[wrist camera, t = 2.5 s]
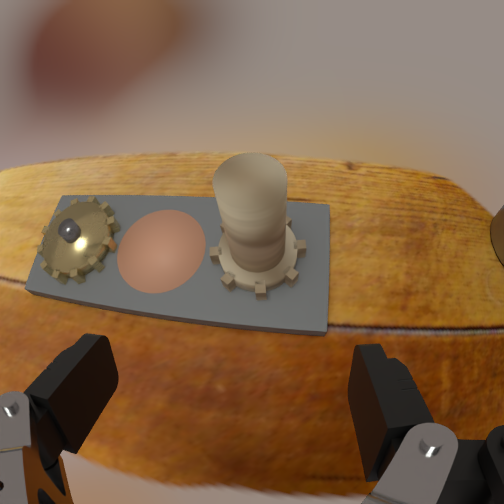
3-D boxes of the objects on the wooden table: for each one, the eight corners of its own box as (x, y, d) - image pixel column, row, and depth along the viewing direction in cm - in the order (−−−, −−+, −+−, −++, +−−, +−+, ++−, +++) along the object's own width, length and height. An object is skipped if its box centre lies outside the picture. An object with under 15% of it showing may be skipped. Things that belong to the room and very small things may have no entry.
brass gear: (93, 191, 33) (81, 174, 30) (137, 236, 30) (125, 218, 27) (34, 248, 30) (19, 234, 27) (69, 304, 27) (51, 292, 24)
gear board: (327, 213, 31) (329, 204, 30) (324, 336, 25) (326, 331, 24) (67, 202, 35) (61, 195, 33) (32, 294, 29) (24, 288, 28)
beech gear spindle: (255, 204, 30) (245, 120, 21) (323, 251, 27) (341, 172, 19) (194, 261, 28) (159, 188, 19) (262, 319, 25) (255, 262, 16)
